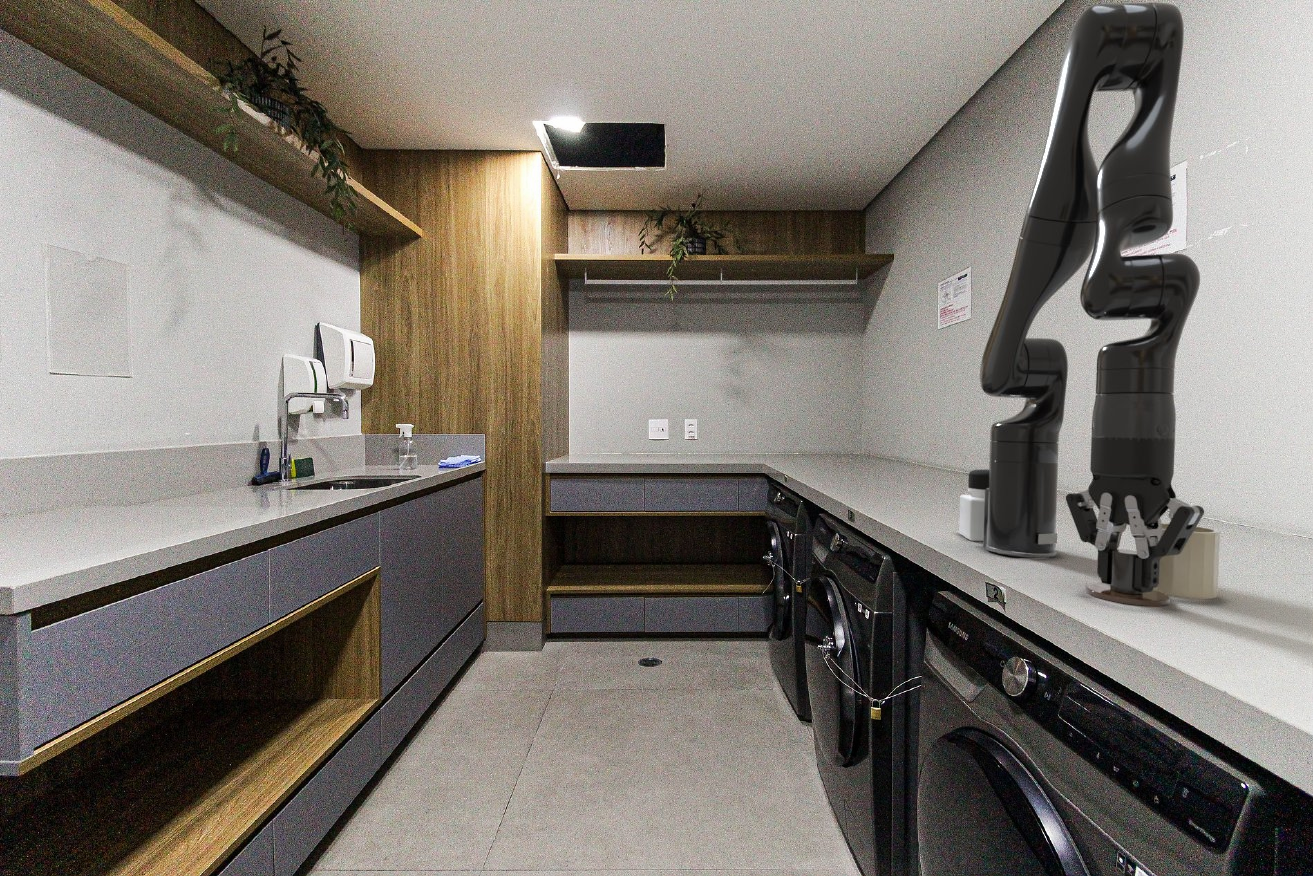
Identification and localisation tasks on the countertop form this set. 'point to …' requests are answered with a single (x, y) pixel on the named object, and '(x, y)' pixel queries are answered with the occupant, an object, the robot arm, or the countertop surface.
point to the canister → (1192, 566)
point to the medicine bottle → (974, 506)
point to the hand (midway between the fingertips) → (1126, 586)
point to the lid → (1125, 583)
